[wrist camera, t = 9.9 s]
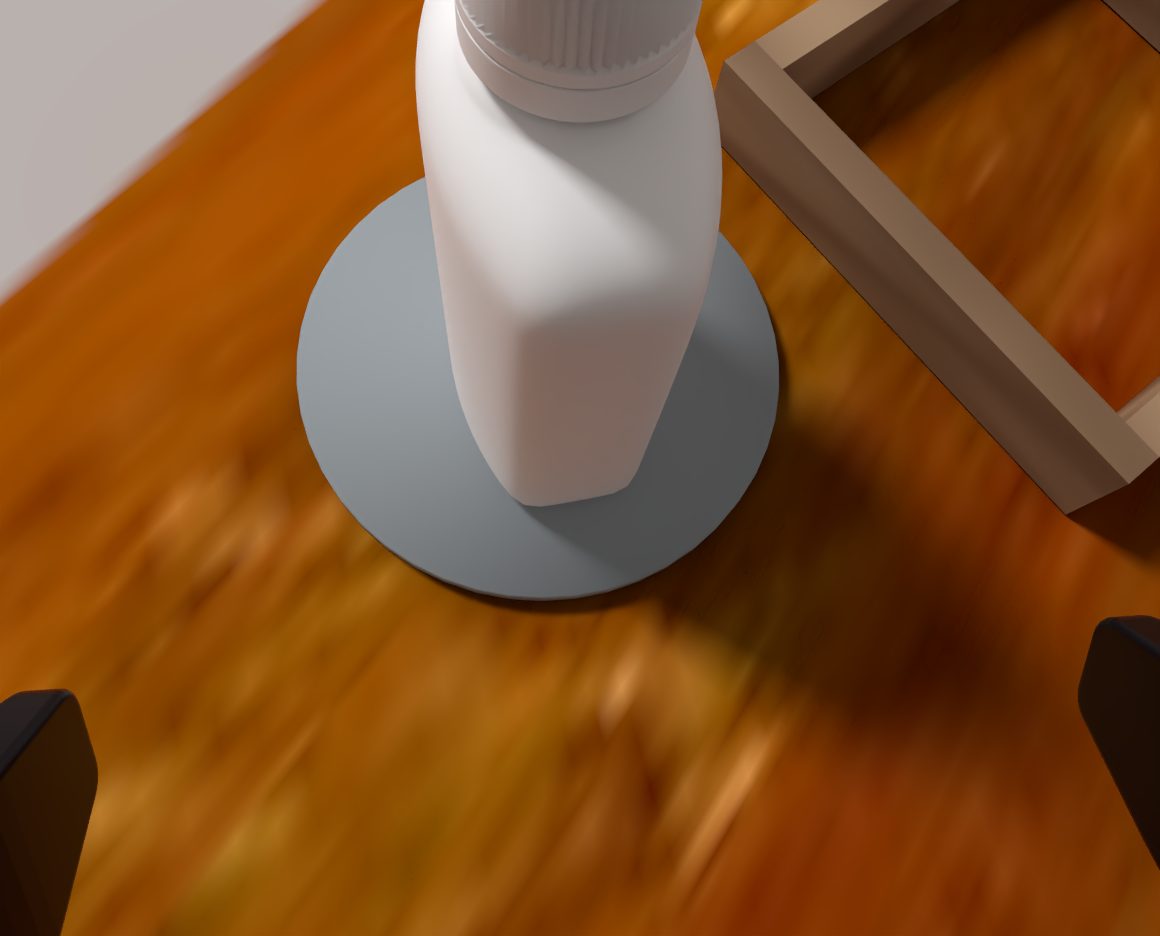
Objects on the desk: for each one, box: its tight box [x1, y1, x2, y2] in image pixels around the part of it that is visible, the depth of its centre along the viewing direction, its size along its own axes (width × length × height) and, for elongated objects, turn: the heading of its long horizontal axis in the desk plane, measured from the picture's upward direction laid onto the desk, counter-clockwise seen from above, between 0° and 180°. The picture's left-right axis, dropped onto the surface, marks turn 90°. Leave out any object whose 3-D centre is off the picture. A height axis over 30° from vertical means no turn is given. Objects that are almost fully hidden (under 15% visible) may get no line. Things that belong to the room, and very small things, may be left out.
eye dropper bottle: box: [416, 0, 722, 507], centre depth 13 cm, size 4×6×12 cm
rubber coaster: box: [297, 177, 779, 601], centre depth 19 cm, size 9×9×1 cm
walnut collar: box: [714, 0, 1160, 515], centre depth 20 cm, size 11×11×2 cm
